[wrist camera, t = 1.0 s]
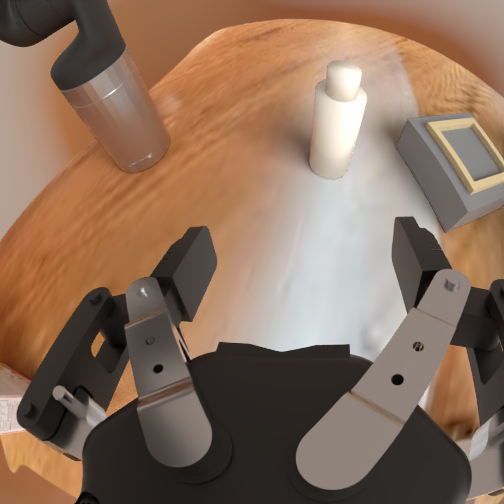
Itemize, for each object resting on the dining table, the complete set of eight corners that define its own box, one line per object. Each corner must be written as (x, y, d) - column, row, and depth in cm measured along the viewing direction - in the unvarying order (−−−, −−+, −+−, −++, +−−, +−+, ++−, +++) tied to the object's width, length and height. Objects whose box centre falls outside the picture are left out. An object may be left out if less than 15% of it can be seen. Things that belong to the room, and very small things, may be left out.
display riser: (395, 147, 35) (410, 113, 28) (455, 136, 35) (472, 108, 28) (445, 233, 30) (472, 207, 23) (500, 208, 30) (525, 185, 23)
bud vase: (303, 153, 36) (307, 58, 22) (337, 144, 36) (353, 54, 22) (318, 183, 34) (333, 88, 20) (355, 174, 34) (382, 82, 20)
